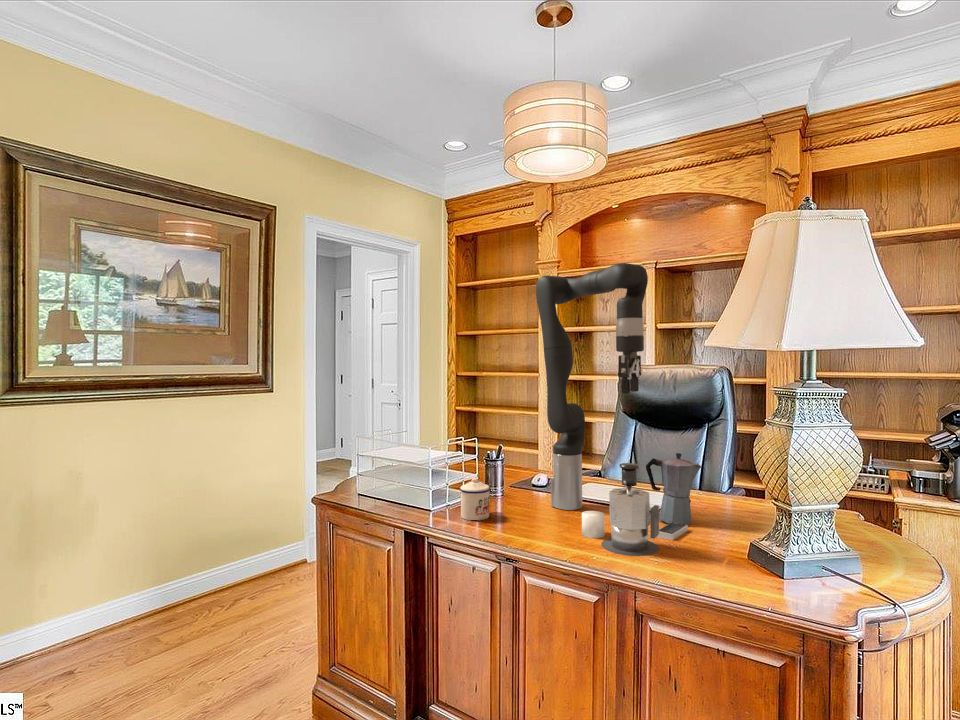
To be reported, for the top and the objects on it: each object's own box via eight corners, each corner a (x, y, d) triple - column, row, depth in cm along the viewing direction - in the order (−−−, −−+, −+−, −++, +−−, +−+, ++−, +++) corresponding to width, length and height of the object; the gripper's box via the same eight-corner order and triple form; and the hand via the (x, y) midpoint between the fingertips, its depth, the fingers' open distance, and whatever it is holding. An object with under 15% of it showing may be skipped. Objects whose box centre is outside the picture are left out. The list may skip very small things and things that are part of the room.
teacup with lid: (478, 523, 157) (478, 483, 157) (454, 518, 163) (453, 479, 163) (501, 513, 167) (500, 475, 167) (477, 508, 172) (476, 472, 172)
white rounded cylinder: (578, 537, 144) (578, 515, 144) (586, 531, 149) (586, 509, 149) (600, 541, 141) (600, 518, 141) (607, 534, 146) (607, 512, 146)
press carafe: (606, 548, 134) (606, 493, 134) (617, 537, 142) (617, 486, 142) (652, 556, 128) (651, 499, 128) (661, 545, 136) (660, 491, 136)
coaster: (593, 551, 133) (593, 549, 133) (611, 535, 145) (611, 533, 145) (651, 561, 126) (651, 559, 126) (664, 543, 138) (664, 542, 138)
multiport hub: (656, 539, 142) (656, 530, 143) (672, 529, 151) (672, 521, 151) (672, 543, 140) (672, 534, 140) (688, 533, 148) (688, 524, 148)
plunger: (617, 521, 135) (617, 465, 135) (623, 516, 139) (622, 462, 139) (636, 524, 132) (635, 467, 133) (641, 519, 136) (640, 464, 136)
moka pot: (705, 528, 151) (704, 456, 151) (648, 525, 154) (647, 455, 154) (698, 518, 160) (698, 450, 160) (644, 515, 163) (644, 449, 163)
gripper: (623, 336, 160) (624, 390, 160) (608, 334, 147) (609, 393, 147) (649, 335, 156) (650, 391, 156) (636, 333, 143) (636, 394, 143)
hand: (630, 392), depth 151 cm, fingers open, 8 cm apart
